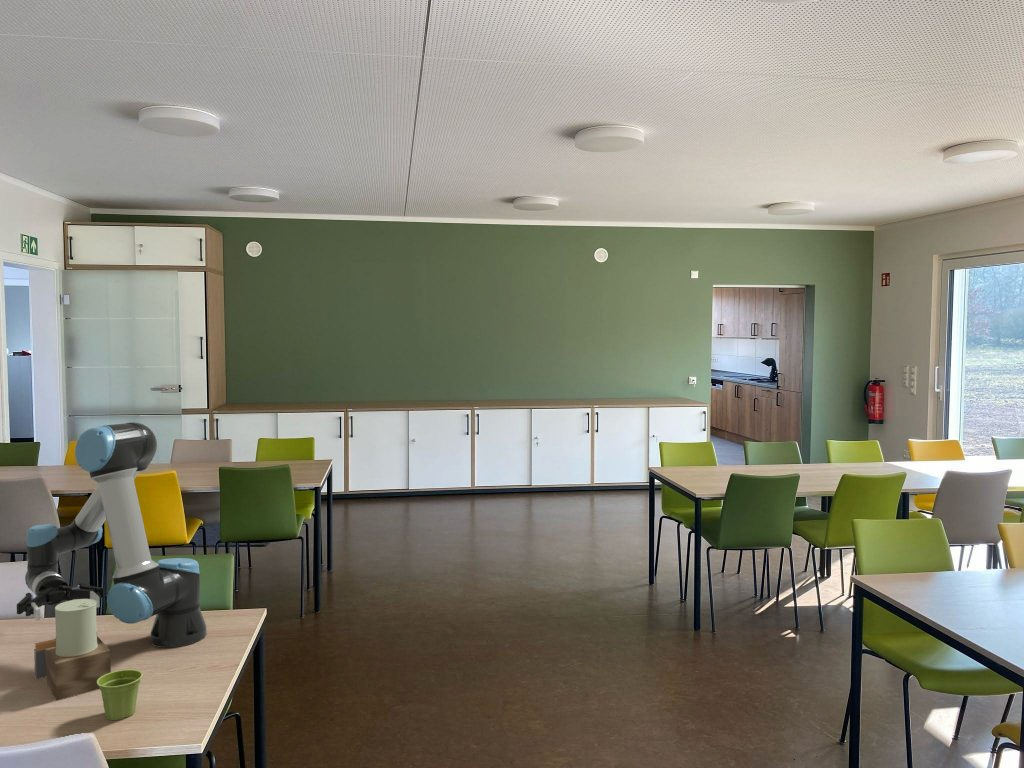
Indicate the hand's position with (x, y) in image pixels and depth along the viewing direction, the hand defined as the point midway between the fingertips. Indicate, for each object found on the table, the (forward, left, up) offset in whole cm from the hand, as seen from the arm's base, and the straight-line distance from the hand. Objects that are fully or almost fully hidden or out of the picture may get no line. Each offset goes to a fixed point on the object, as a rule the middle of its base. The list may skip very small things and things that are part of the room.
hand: (68, 608), depth 194 cm
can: (-4, +6, -9) cm, 12 cm away
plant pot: (-21, +23, -18) cm, 36 cm away
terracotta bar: (+2, -4, -11) cm, 11 cm away
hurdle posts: (+2, -4, -18) cm, 18 cm away
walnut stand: (-5, +6, -18) cm, 19 cm away
